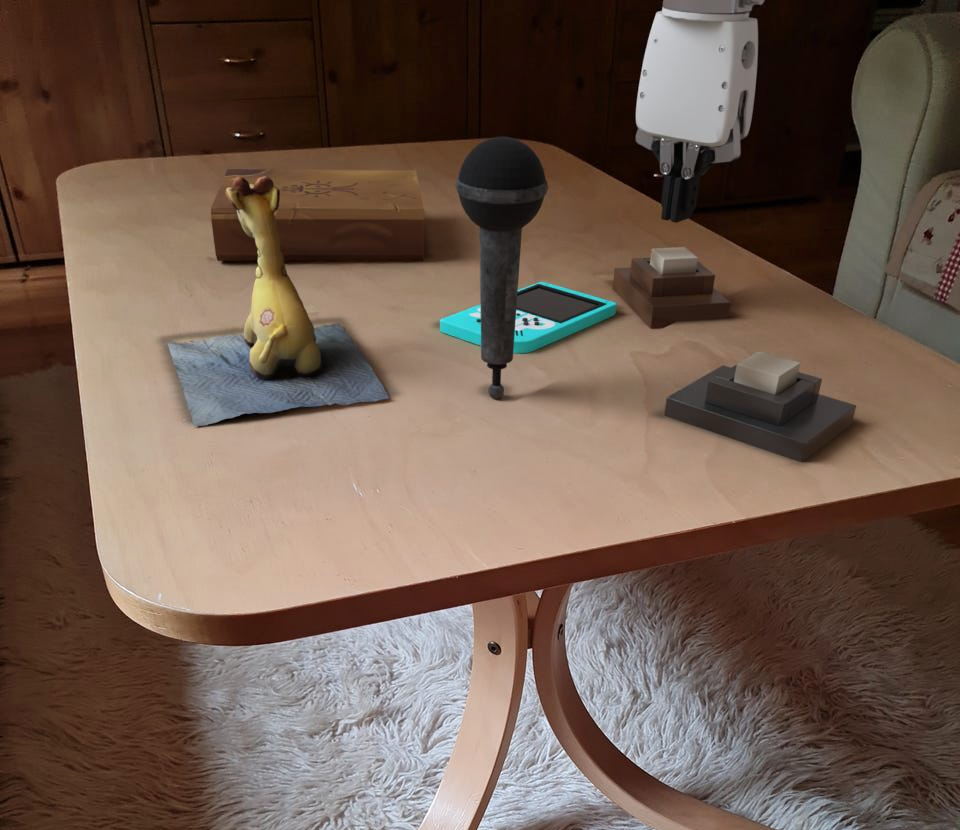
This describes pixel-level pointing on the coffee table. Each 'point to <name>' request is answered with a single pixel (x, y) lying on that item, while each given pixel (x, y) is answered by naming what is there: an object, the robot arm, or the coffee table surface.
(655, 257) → the far key
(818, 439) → the near block
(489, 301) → the microphone
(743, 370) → the near key
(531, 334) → the handheld game console
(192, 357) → the giraffe figurine
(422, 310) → the coffee table surface
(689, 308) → the far block
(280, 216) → the brown wooden box
